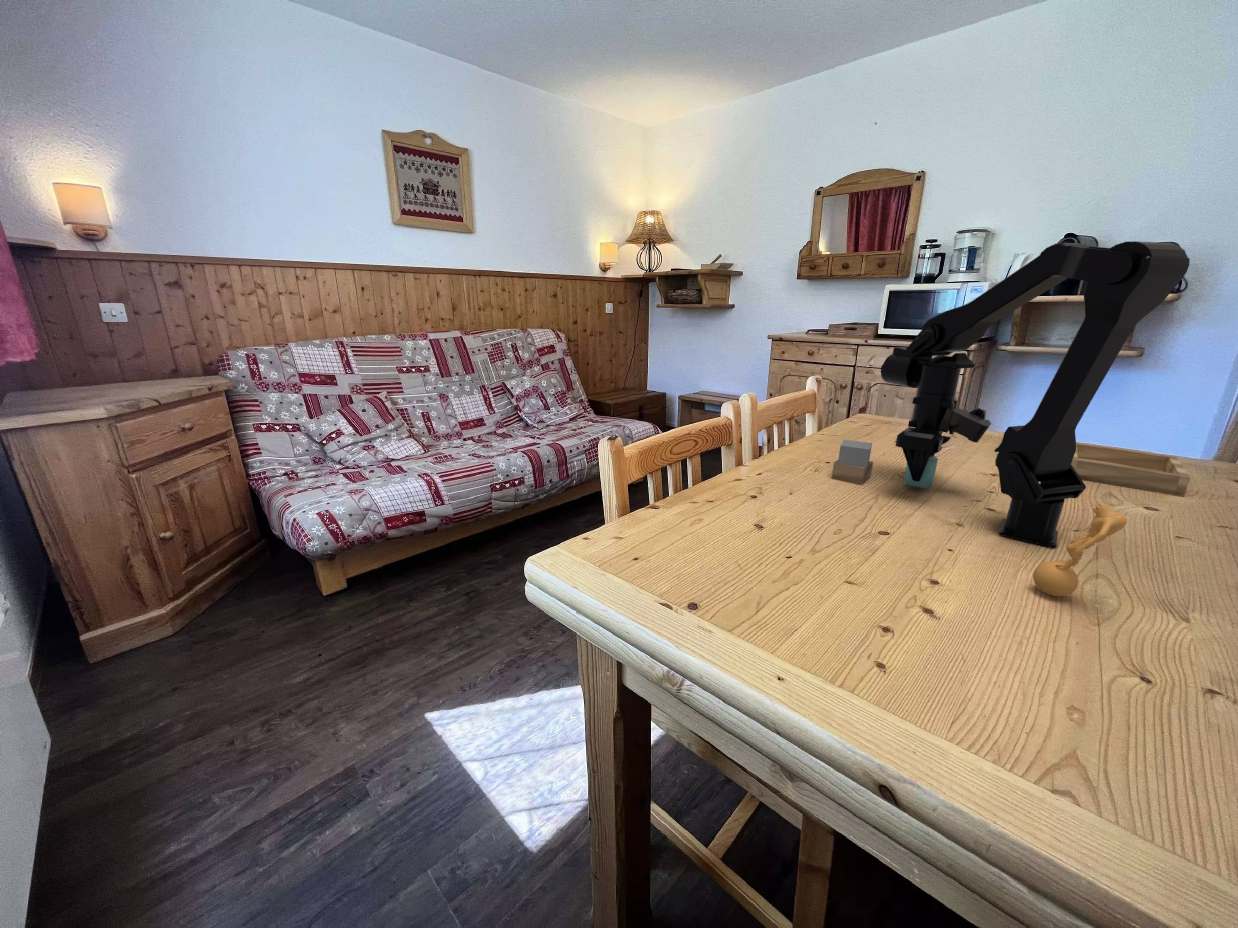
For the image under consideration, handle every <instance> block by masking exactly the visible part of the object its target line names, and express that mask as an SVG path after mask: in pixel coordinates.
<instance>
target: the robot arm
mask: <svg viewBox="0 0 1238 928" xmlns="http://www.w3.org/2000/svg"><path fill="white" fill-rule="evenodd" d="M1190 260H1191V259H1190V258H1189V257H1188V255H1187V253H1186V250H1185V249H1183V248H1182V247H1181V245H1178V244H1175V243H1173V242H1172V243H1171V242H1156V241H1136V240H1135V241H1133V240H1132V241H1124V242H1120V243H1117V244H1114V245H1113V246H1111V247H1104V246H1103V247H1100V246H1091V245H1087V244H1085V243H1073V242H1059V243H1054V244H1052V245H1050V246H1047V247H1046V248H1044V249H1043V250H1042V251H1041V253H1040V254H1039V255H1038V256H1037V257H1035V258H1034V259H1032V260H1031V261H1029V262H1027V263H1026V264H1025V265H1022V266H1021V267H1019V269H1017V270H1015V271H1014V272H1013V273H1011V274H1010V275H1008V276H1007V277H1005V278H1004V279H1003V280H1002V279H1001V281H999V282H998V283H997V284H995V285H994V286H992V287H991V288H989V289H987V290H986V291H985V292H983V293H982V294H980V295H979V296H977V297H975V298H974V299H973V300H971V301H970V302H968V303H966V304H963V305H961V306H958V307H953V308H951V309H948V310H945V311H942V312H941V313H939V314H937V315H935V316H932V317H931V318H929V319H927V320H926V321H925V322H924V323H923V324H922V326H921V330H920V332H919V333H918V334H917V335H916V337H914V339H913V340H912V341H911V342H910V344H908V346H907V347H906V346H905V347H903V346H897V347H895V346H894V347H893V350H892V353H891V354H890V355H888V356H887V357H886V358H885V360H884V361H883V363H882V365H881V367H880V375H881V376H880V377H881V378H882V380H883V382H885V383H888V384H892V385H897V386H903V387H906V388H907V387H908V388H913V389H916V393H915V396H914V397H913V398H912V405H913V409H912V410H913V411H912V416H911V419H910V420H909V421H908V424H907V428H905V429H904V430H902V431H901V432H899V433H898V434H897V435H896V441H895V445H894V446H895V447H897V448H901V450H902V452H903V454H904V457H905V460H906V465H907V464H908V467H909V470H910V474H911V477H912V480H913V481H917V482H919V481H920V479H921V477H922V475H923V472H924V470H925V468H926V465H927V463H928V461H929V458H930V456H935V455H936V454H937V453H940V452H941V451H942V449H943V446H942V445H945V444H947V443H948V442H950V440H951V439H952V437H951V436H947V435H946V436H945V435H943V434H944V433H948V435H954V434H955V433H956V434H958V435H960V436H962V437H965V438H967V440H968V441H970V442H973V443H978V442H979V441H980V440H981V439H982V437H983V436H984V435H985V433H986V432H987V430H989V428H990V426H991V425H992V422H991V421H990V420H989V419H986V415H987V411H986V409H985V410H984V409H982V408H980V407H975V408H973V409H972V410H970V411H968V410H967V409H962V408H960V407H957V406H958V402H959V400H957V398H956V393H957V388H958V386H959V385H958V384H959V379H960V374H961V370H962V369H973V368H974V367H976V364H975V363H974V362H973V361H972V360H971V359H970V358H969V357H968V355H967V352H964V351H966V350H968V349H969V348H971V347H972V346H973V345H974V344H976V343H977V342H978V341H979V340H981V339H982V338H984V336H985V334H986V332H987V331H988V329H989V328H990V327H991V326H992V325H994V324H995V323H996V322H997V321H999V320H1001V319H1003V318H1004V317H1006V316H1008V315H1009V314H1011V313H1012V312H1014V311H1016V310H1018V309H1019V308H1021V307H1022V306H1025V305H1026V304H1027V303H1029V302H1031V301H1032V300H1034V299H1035V298H1037V297H1039V296H1041V295H1042V294H1044V293H1045V292H1047V291H1049V290H1051V289H1053V288H1054V287H1056V286H1058V285H1059V284H1061V283H1062V282H1064V281H1065V280H1067V279H1072V280H1077V281H1078V280H1079V281H1086V283H1085V287H1084V291H1083V304H1084V307H1083V309H1084V317H1083V320H1082V322H1081V324H1080V326H1079V328H1078V330H1077V332H1076V333H1075V335H1074V337H1073V340H1072V341H1071V343H1070V344H1069V347H1068V349H1067V351H1066V353H1065V355H1064V357H1063V358H1062V361H1061V362H1060V363H1059V366H1058V368H1057V370H1056V372H1055V374H1054V376H1053V378H1052V379H1051V382H1050V384H1049V386H1048V388H1047V390H1046V391H1045V392H1044V395H1043V397H1042V398H1041V401H1040V402H1039V405H1038V406H1037V409H1036V410H1035V412H1034V415H1033V416H1032V418H1031V419H1030V420H1029V421H1028V422H1027V423H1025V424H1024V425H1013V426H1008V427H1007V428H1006V430H1005V431H1004V433H1003V436H1002V438H1001V441H1000V443H999V445H998V446H997V447H996V448H995V449H994V453H997V454H996V457H995V460H994V462H995V463H994V465H995V467H997V470H998V477H999V484H1000V485H999V486H1000V487H999V488H1000V493H1001V494H1003V495H1005V496H1008V497H1009V498H1010V499H1011V500H1010V503H1009V506H1008V507H1009V508H1008V512H1007V514H1006V518H1003V519H1002V521H1001V523H1000V524H1001V525H1000V528H999V530H998V535H1000V536H1002V537H1007V538H1012V539H1015V540H1018V541H1019V540H1020V541H1024V542H1027V543H1028V542H1029V543H1032V544H1036V545H1040V546H1044V547H1049V548H1057V546H1058V530H1057V527H1058V524H1059V521H1060V517H1061V515H1062V510H1063V507H1064V503H1065V501H1066V500H1068V499H1077V498H1079V497H1080V495H1081V494H1082V493H1083V492H1084V491H1085V490H1086V489H1087V485H1086V484H1085V483H1084V480H1081V478H1080V477H1079V475H1078V474H1077V472H1076V471H1075V469H1074V468H1073V466H1072V465H1071V463H1072V460H1073V457H1074V454H1075V451H1076V443H1077V438H1076V429H1077V426H1078V425H1079V423H1080V421H1081V420H1082V418H1083V416H1084V414H1085V412H1086V410H1087V409H1088V407H1089V405H1090V404H1091V402H1092V400H1093V398H1094V397H1095V395H1096V393H1097V392H1098V390H1099V388H1100V387H1101V384H1102V383H1103V381H1104V380H1105V378H1106V377H1107V374H1109V373H1108V372H1109V371H1110V370H1111V368H1112V366H1113V364H1114V362H1115V361H1116V359H1117V357H1118V355H1119V354H1120V352H1121V351H1122V349H1123V347H1124V345H1125V343H1126V341H1127V340H1128V338H1129V336H1130V334H1131V333H1132V331H1133V329H1134V328H1135V326H1136V325H1137V324H1138V323H1139V322H1141V320H1143V319H1144V318H1145V317H1147V315H1148V314H1150V313H1151V312H1153V311H1154V310H1155V309H1156V308H1157V307H1158V306H1160V305H1161V304H1162V303H1163V302H1164V301H1166V299H1167V298H1168V297H1169V295H1170V294H1171V292H1172V291H1173V290H1174V289H1175V288H1176V287H1177V285H1178V284H1179V283H1180V282H1181V280H1182V279H1183V278H1185V277H1184V276H1185V275H1186V274H1187V272H1188V269H1189V267H1190ZM953 353H954V354H953ZM951 354H953V355H951ZM950 355H951V356H950Z"/></svg>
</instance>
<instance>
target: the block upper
mask: <svg viewBox="0 0 1238 928" xmlns="http://www.w3.org/2000/svg"><path fill="white" fill-rule="evenodd" d="M839 446H840V447H839V453H838V459H837V460H838V463H839V464H846V465H853V466H859V467H866V468H867V465H868V463H869V461H870V458H871V452H872V446H873V443H872V442H868V441H858V440H853V439H852V440H850V439H843V440H842V442H841V444H840V445H839Z"/></svg>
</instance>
